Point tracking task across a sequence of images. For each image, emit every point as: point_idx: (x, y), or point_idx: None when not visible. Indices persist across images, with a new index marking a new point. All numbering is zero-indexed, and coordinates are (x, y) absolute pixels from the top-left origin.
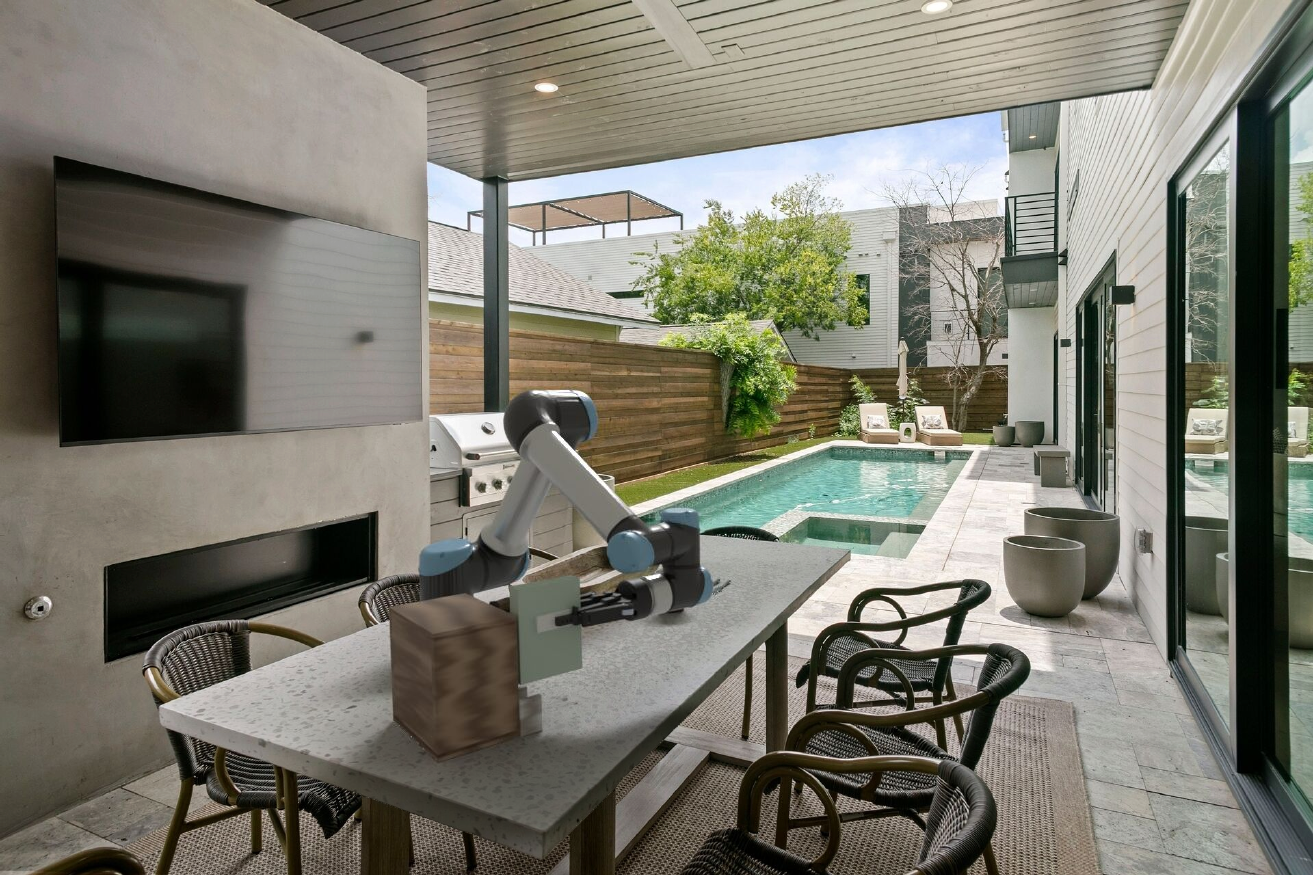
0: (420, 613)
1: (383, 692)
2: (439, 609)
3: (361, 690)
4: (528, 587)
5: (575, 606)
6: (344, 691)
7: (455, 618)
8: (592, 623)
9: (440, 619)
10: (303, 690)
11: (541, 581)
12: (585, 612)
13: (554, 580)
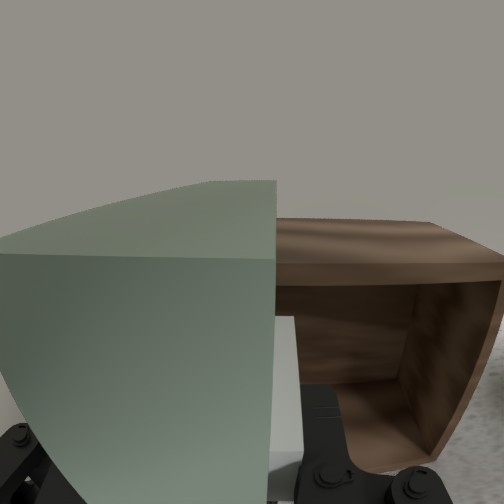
0: (372, 224)
1: (489, 376)
2: (386, 232)
3: (497, 361)
4: (199, 183)
5: None
6: (495, 351)
7: (299, 230)
8: (22, 493)
9: (310, 225)
10: (499, 329)
11: (250, 188)
12: (14, 434)
13: (194, 196)
